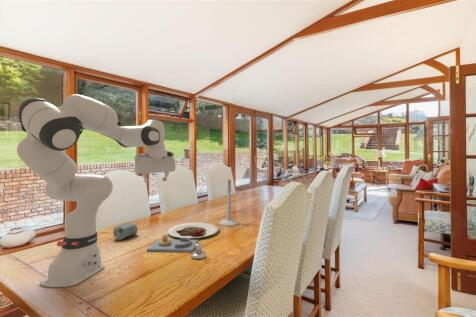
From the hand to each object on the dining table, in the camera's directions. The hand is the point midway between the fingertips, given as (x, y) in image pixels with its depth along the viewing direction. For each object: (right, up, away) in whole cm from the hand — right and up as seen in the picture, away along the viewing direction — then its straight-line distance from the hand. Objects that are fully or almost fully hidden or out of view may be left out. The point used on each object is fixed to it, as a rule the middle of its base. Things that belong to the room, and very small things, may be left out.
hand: (156, 181), depth 129 cm
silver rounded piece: (+22, -34, -8) cm, 41 cm away
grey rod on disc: (+34, -32, +46) cm, 66 cm away
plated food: (+14, -33, +28) cm, 46 cm away
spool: (-23, -33, +19) cm, 44 cm away
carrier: (+8, -33, +4) cm, 34 cm away
